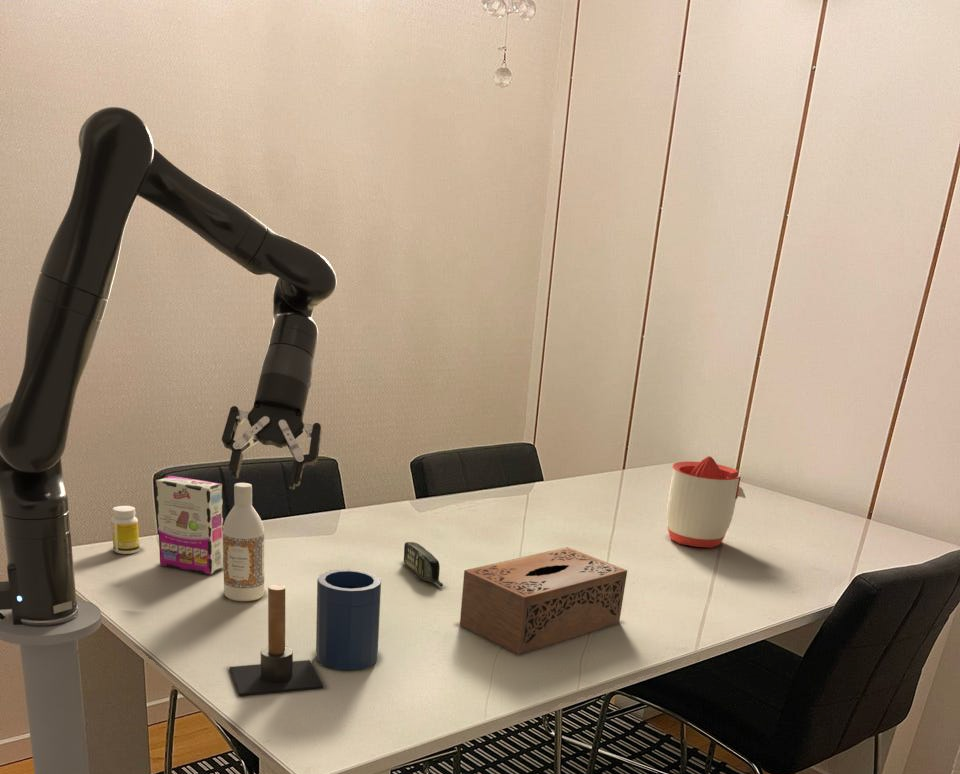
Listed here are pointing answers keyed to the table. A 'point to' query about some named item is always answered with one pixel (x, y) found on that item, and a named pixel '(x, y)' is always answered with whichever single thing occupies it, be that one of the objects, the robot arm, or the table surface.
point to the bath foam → (243, 548)
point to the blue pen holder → (347, 619)
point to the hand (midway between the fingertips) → (263, 482)
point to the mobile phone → (422, 562)
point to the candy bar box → (190, 524)
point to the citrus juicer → (701, 502)
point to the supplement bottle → (125, 530)
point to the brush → (276, 640)
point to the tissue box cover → (541, 598)
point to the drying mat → (253, 684)
